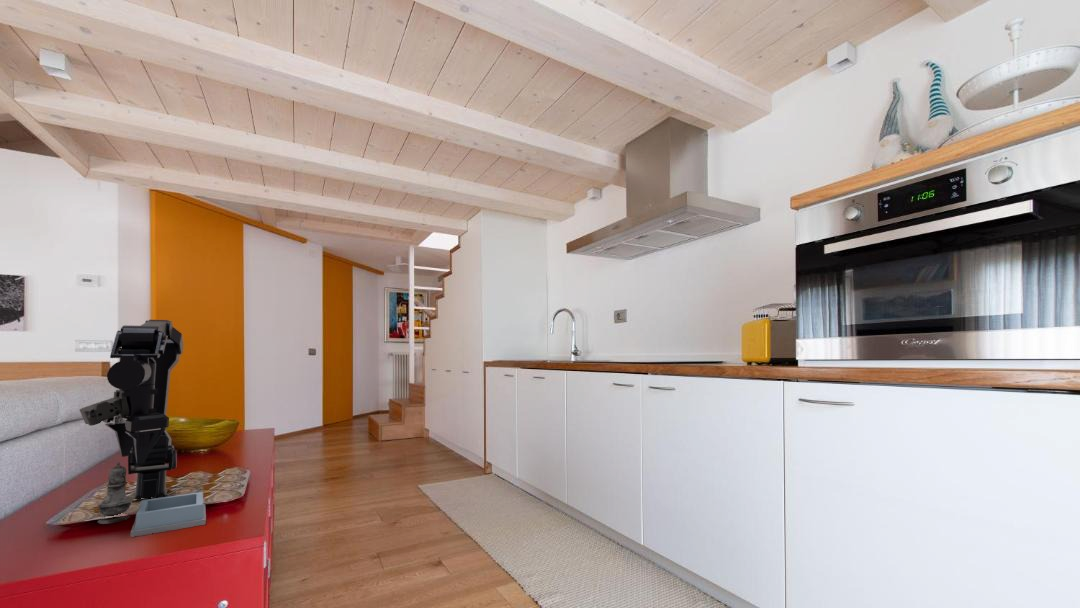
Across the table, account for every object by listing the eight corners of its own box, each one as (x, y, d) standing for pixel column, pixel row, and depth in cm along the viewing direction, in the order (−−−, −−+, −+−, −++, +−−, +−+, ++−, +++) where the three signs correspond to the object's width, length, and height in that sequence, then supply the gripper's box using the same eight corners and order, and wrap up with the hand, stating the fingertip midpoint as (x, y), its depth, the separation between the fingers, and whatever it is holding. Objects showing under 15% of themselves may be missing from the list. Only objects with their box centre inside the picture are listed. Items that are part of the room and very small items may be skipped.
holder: (136, 519, 103) (138, 500, 103) (204, 508, 110) (206, 490, 110) (130, 537, 93) (132, 516, 94) (205, 524, 100) (206, 504, 100)
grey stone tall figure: (110, 525, 100) (115, 465, 101) (87, 523, 101) (92, 464, 102) (139, 515, 105) (143, 459, 106) (117, 513, 106) (121, 458, 108)
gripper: (73, 384, 100) (67, 460, 99) (101, 391, 90) (94, 476, 89) (139, 380, 110) (135, 450, 109) (172, 386, 99) (167, 463, 98)
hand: (132, 459), depth 101 cm, fingers open, 9 cm apart
